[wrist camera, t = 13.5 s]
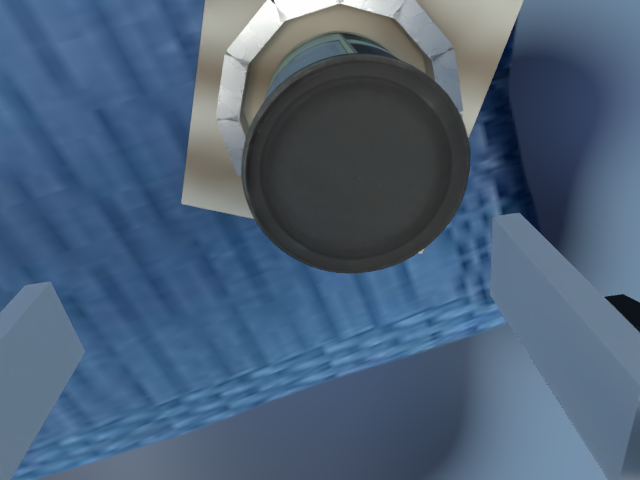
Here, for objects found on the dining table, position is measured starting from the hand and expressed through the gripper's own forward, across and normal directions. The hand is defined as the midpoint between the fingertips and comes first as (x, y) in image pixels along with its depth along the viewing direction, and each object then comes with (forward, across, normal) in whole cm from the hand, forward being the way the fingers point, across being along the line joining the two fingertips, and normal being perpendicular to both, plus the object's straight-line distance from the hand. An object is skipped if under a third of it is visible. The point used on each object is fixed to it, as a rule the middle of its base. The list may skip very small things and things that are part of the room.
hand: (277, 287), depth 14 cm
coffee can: (+22, -4, 0) cm, 23 cm away
